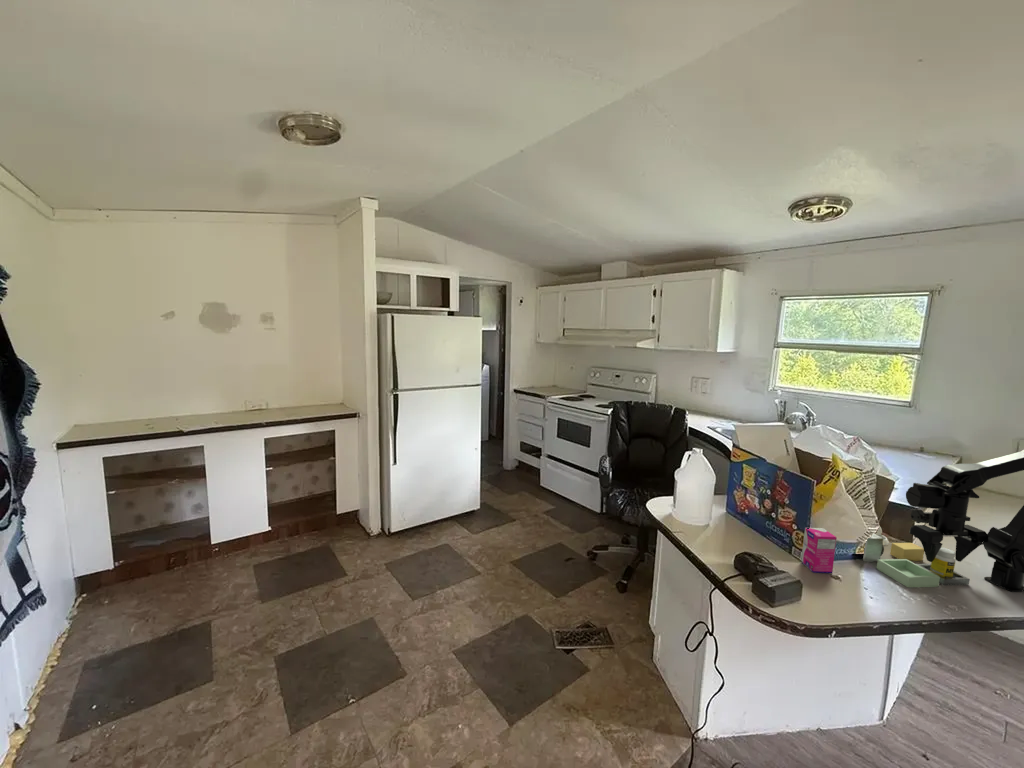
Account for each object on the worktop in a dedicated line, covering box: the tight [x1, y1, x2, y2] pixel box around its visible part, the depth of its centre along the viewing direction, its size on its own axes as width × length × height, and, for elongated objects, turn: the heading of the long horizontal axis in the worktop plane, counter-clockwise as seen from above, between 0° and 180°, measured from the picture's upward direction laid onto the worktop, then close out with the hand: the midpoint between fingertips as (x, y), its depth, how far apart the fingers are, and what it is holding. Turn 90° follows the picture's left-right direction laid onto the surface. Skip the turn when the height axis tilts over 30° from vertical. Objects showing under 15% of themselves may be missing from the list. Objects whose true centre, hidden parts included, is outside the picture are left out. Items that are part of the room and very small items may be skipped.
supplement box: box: [800, 527, 837, 574], centre depth 127 cm, size 6×6×12 cm
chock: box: [889, 542, 925, 562], centre depth 136 cm, size 7×4×4 cm, turn 95°
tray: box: [876, 558, 940, 588], centre depth 124 cm, size 9×9×3 cm
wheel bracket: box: [862, 534, 885, 563], centre depth 134 cm, size 7×5×9 cm, turn 95°
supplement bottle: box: [930, 546, 956, 578], centre depth 125 cm, size 5×5×8 cm
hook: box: [876, 525, 890, 546], centre depth 148 cm, size 8×12×7 cm
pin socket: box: [916, 563, 971, 586], centre depth 125 cm, size 8×8×2 cm
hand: (943, 561), depth 125 cm, fingers open, 9 cm apart
